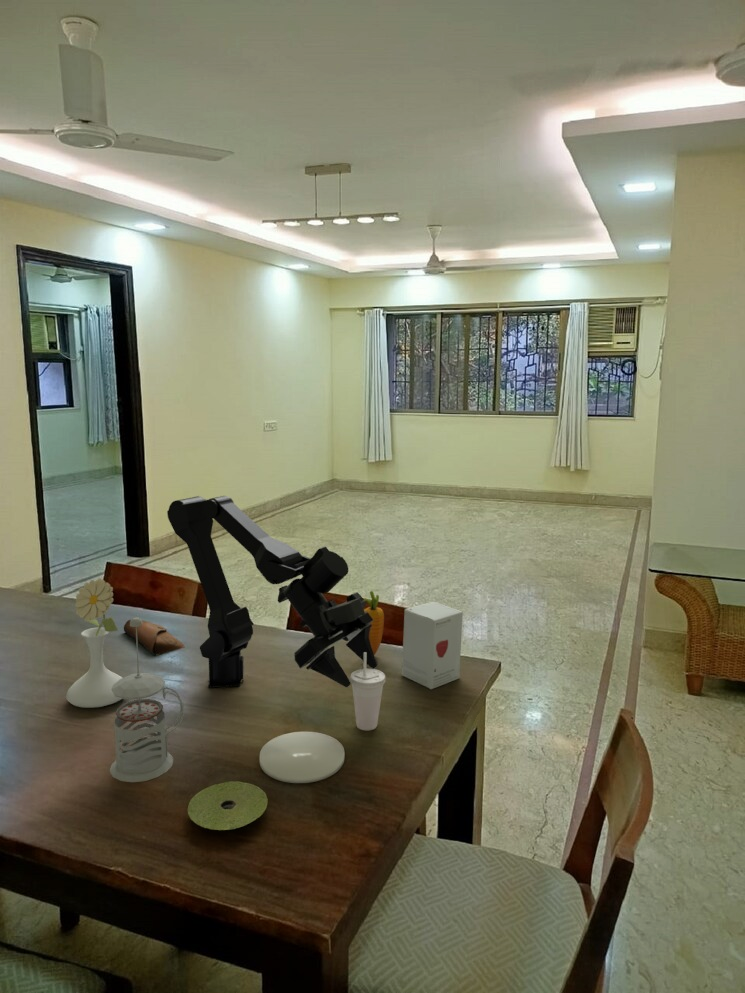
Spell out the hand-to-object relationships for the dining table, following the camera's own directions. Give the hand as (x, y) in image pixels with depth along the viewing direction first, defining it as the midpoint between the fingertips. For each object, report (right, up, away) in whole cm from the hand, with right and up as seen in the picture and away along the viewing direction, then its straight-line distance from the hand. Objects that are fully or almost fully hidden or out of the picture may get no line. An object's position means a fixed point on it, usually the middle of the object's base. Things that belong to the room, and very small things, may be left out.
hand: (362, 676), depth 125 cm
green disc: (-19, -14, -25) cm, 34 cm away
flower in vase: (-51, -7, +8) cm, 52 cm away
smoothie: (+1, -9, +1) cm, 10 cm away
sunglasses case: (-50, -2, +39) cm, 64 cm away
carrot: (+2, -4, +32) cm, 32 cm away
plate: (-10, -11, -10) cm, 18 cm away
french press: (-35, -11, -12) cm, 39 cm away
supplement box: (+14, -6, +22) cm, 27 cm away
